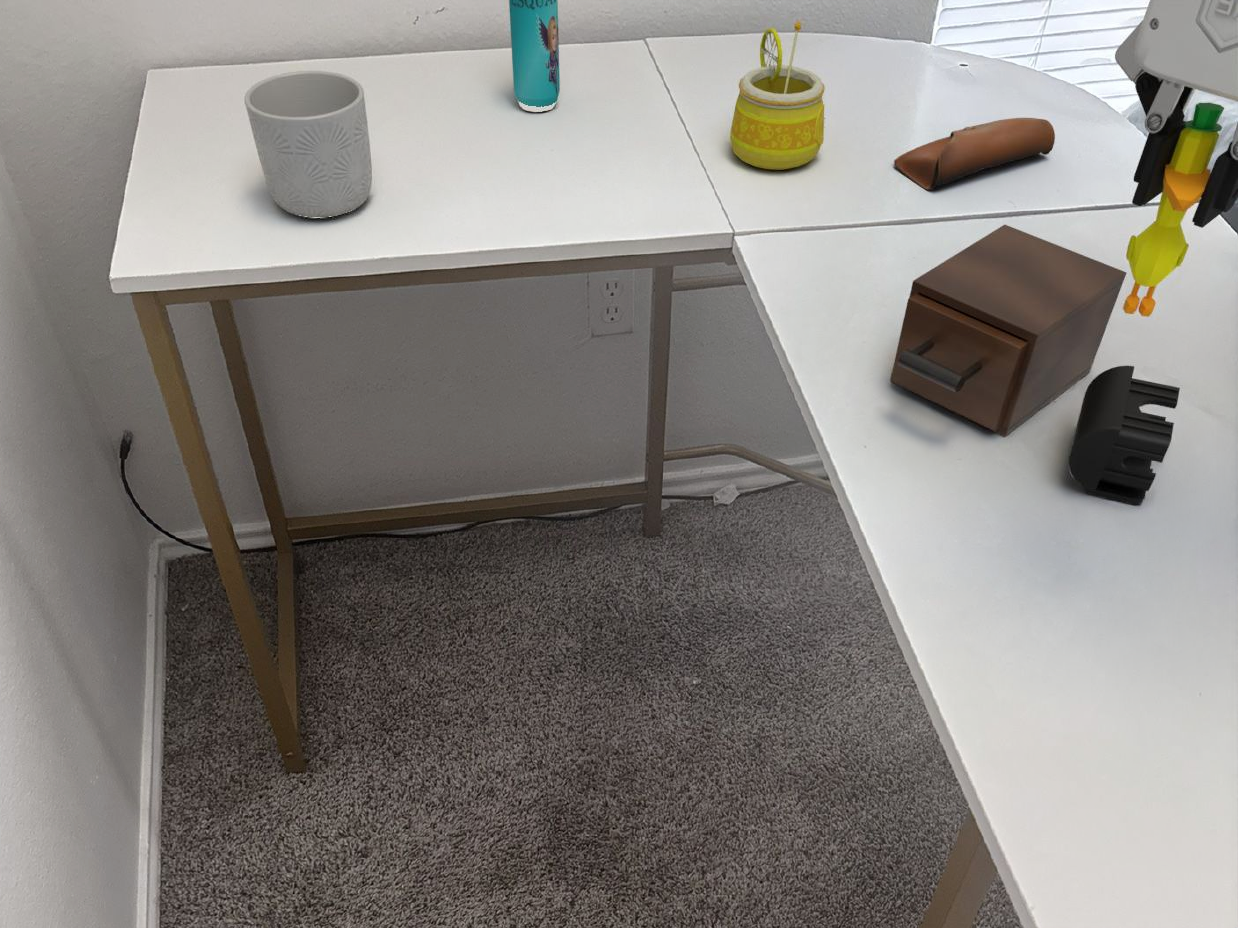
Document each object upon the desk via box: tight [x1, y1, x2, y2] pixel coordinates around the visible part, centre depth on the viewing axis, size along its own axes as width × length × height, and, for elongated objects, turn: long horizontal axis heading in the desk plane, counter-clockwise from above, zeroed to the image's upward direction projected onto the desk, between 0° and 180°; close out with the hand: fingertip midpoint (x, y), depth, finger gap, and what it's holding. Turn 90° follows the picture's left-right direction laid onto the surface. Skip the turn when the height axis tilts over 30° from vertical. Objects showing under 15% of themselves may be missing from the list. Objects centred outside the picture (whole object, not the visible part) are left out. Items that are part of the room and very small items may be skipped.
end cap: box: [1067, 365, 1181, 506], centre depth 97 cm, size 10×7×7 cm
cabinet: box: [890, 224, 1127, 437], centre depth 104 cm, size 15×13×10 cm
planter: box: [244, 70, 373, 217], centre depth 124 cm, size 12×12×11 cm
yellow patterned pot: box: [729, 21, 826, 171], centre depth 132 cm, size 13×11×12 cm
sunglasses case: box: [893, 117, 1056, 191], centre depth 133 cm, size 18×7×7 cm, turn 121°
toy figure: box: [1122, 102, 1225, 317], centre depth 72 cm, size 7×4×12 cm, turn 161°
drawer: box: [889, 294, 1028, 432], centre depth 102 cm, size 18×11×8 cm, turn 135°
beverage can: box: [508, 0, 561, 107], centre depth 138 cm, size 6×6×15 cm
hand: (1178, 205), depth 71 cm, fingers closed on toy figure, 3 cm apart
